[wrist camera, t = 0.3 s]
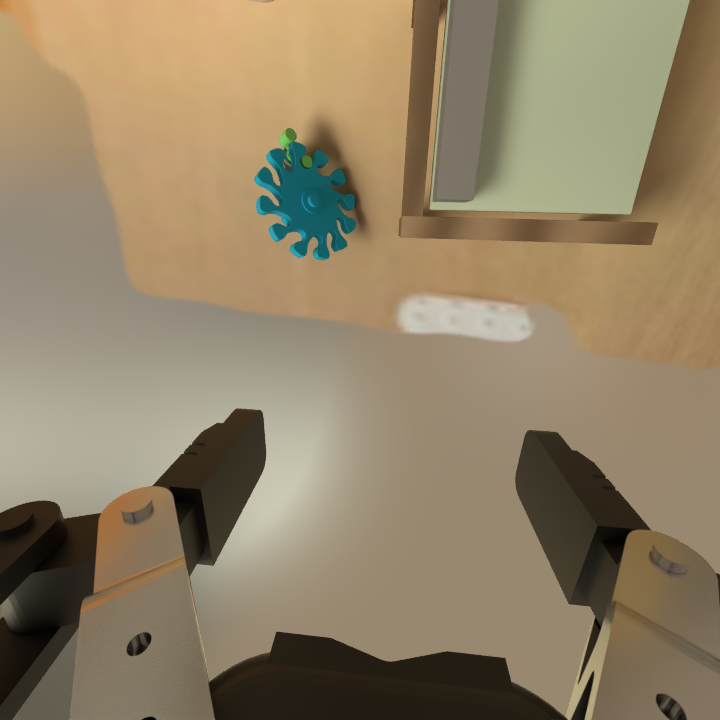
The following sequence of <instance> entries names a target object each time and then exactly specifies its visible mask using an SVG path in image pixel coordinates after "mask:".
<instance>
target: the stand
mask: <svg viewBox="0 0 720 720" xmlns="http://www.w3.org/2000/svg"><path fill="white" fill-rule="evenodd" d="M440 1H441V0H413V11H412V27H411V28H413V44H412V59H411V75H410V91H409V107H408V122H407V138H406V154H405V170H404V185H403V201H402V217H401V218H400V221H399V236H400V237H402V238H435V239H468V240H501V241H534V242H567V243H600V244H633V245H652V242H653V239H654V235H655V232H656V229H657V225H658V223H649V222H611V221H573V220H534V219H496V218H458V217H423V205H424V193H425V181H426V169H427V157H428V145H429V133H430V121H431V109H432V97H433V85H434V73H435V61H436V49H437V37H438V25H439V13H440Z"/></svg>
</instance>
